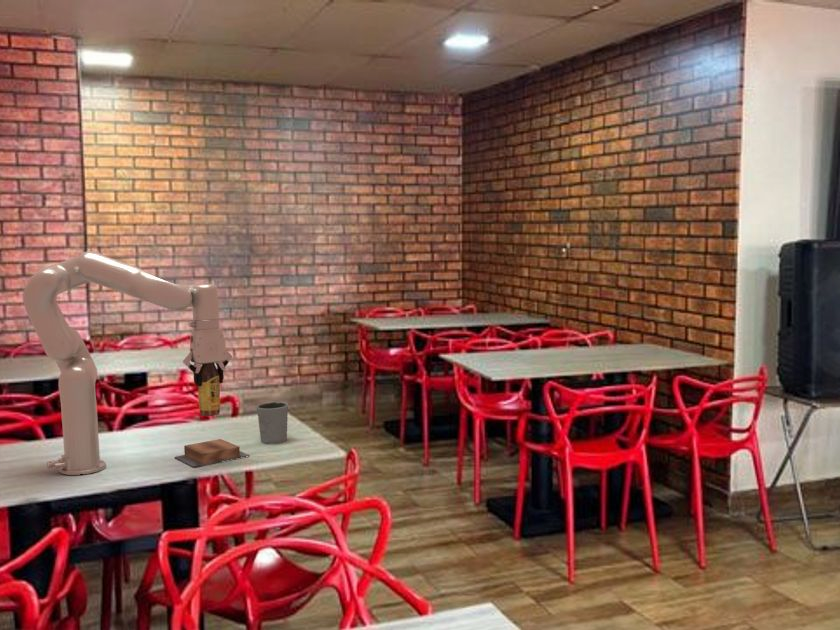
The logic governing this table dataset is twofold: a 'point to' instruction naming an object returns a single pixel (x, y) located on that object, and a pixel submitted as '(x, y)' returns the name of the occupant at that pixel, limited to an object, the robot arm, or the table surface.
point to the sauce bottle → (209, 390)
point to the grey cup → (273, 422)
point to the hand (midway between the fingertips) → (209, 383)
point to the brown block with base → (210, 453)
